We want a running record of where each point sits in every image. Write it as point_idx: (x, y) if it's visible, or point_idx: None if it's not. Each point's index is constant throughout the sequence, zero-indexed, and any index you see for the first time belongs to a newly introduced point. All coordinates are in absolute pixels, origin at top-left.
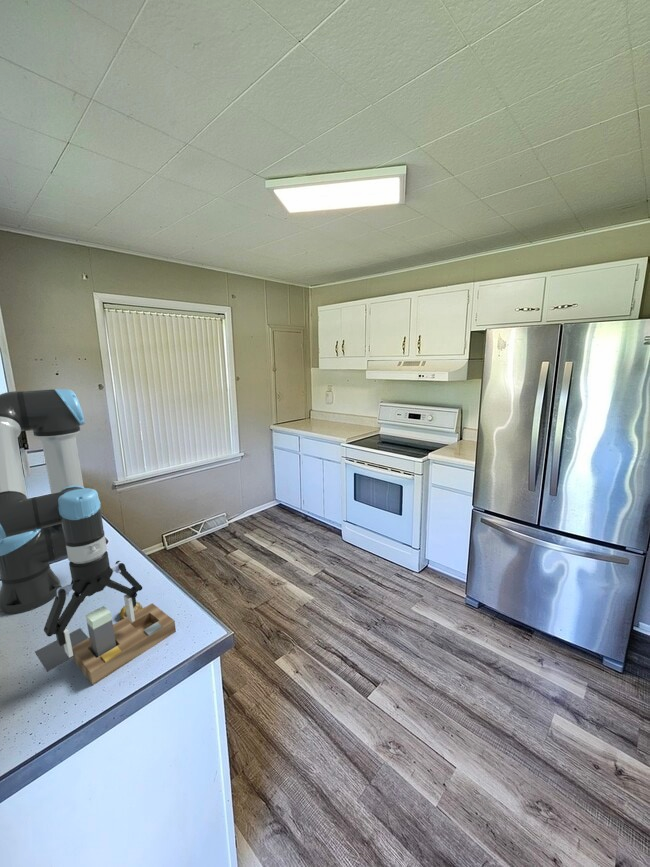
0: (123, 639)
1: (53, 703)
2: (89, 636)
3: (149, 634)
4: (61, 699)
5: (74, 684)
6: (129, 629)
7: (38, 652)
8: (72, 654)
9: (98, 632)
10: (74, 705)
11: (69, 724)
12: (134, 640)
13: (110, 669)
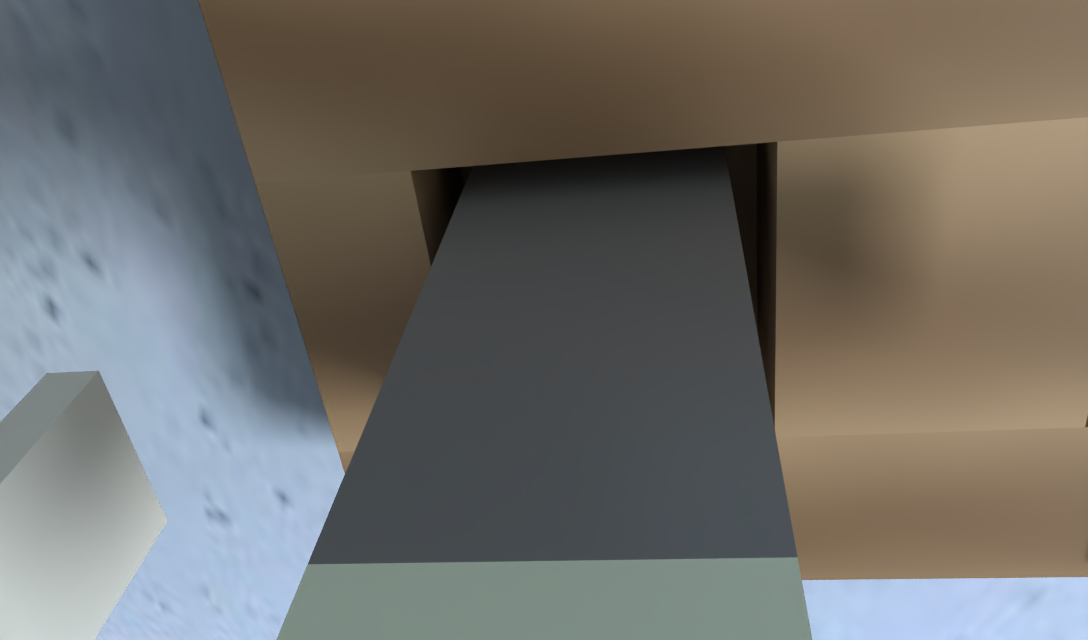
0: (852, 395)
1: (116, 366)
2: (410, 323)
3: None
4: (176, 374)
5: (279, 291)
6: (1041, 259)
7: None
8: (148, 538)
9: None
10: (273, 501)
11: (240, 609)
12: (935, 513)
13: None
